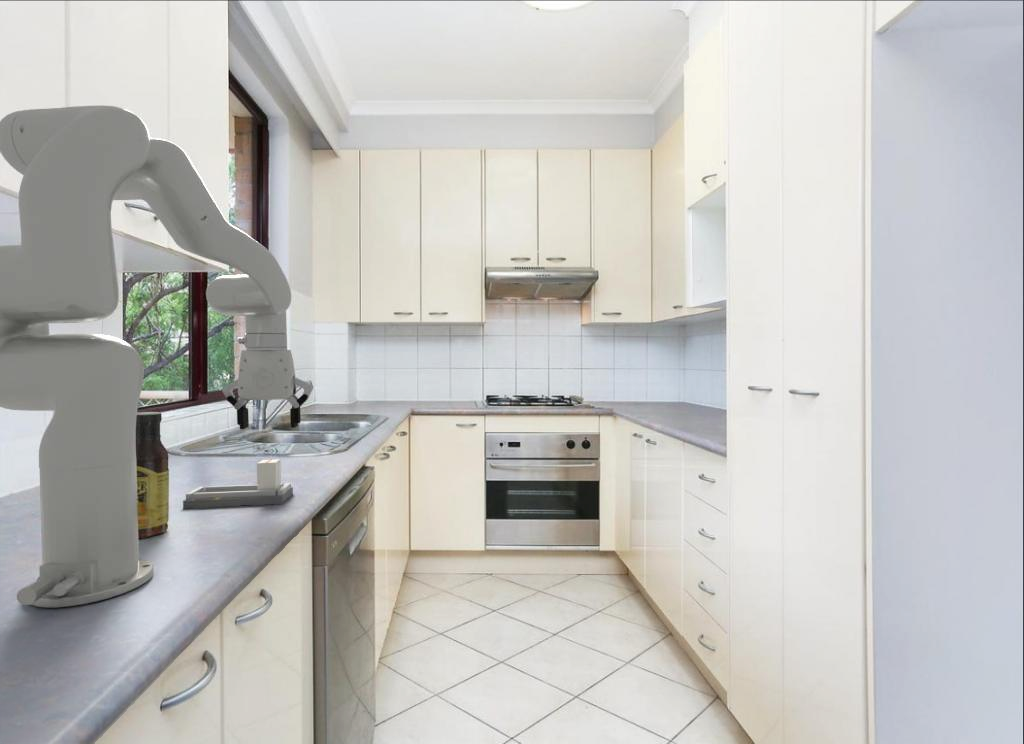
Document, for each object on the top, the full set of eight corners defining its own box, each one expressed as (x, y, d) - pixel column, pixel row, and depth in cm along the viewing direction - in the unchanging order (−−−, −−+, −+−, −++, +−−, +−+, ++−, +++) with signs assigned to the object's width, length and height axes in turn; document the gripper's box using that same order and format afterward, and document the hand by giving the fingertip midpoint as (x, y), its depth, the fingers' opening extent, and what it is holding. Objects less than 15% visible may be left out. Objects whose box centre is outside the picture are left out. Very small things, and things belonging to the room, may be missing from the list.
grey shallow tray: (282, 504, 105) (282, 491, 105) (183, 508, 102) (182, 495, 102) (292, 493, 113) (292, 482, 113) (201, 497, 110) (200, 485, 110)
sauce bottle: (113, 537, 86) (110, 413, 85) (152, 526, 92) (149, 410, 91) (141, 542, 84) (138, 415, 83) (179, 530, 89) (176, 411, 89)
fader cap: (276, 492, 107) (275, 462, 107) (257, 493, 106) (256, 462, 106) (281, 488, 110) (280, 458, 110) (263, 489, 110) (262, 459, 110)
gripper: (213, 343, 103) (216, 432, 104) (307, 342, 105) (309, 429, 106) (228, 343, 110) (231, 426, 111) (315, 342, 113) (318, 423, 114)
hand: (269, 427), depth 109 cm, fingers open, 9 cm apart
